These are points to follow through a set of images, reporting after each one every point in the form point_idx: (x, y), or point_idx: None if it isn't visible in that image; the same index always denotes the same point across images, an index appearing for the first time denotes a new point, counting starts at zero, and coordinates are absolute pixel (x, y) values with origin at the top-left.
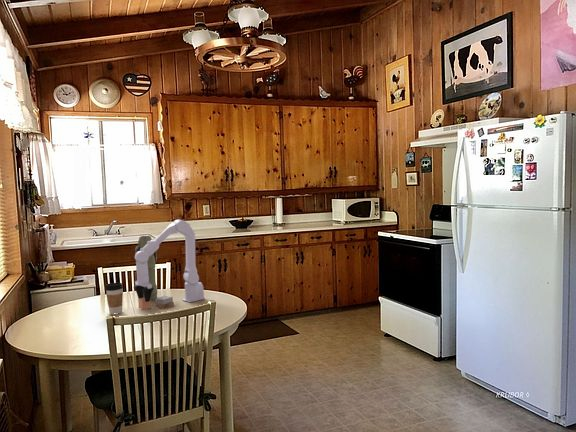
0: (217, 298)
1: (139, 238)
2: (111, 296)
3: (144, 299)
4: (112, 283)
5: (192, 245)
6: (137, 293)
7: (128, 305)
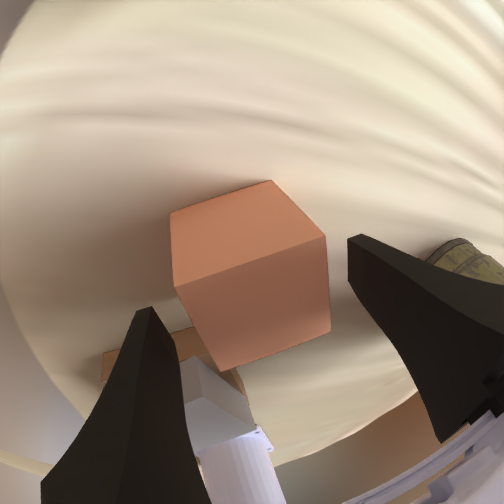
0: None
1: None
2: None
3: (191, 316)
4: None
5: None
6: (415, 277)
7: (425, 118)
